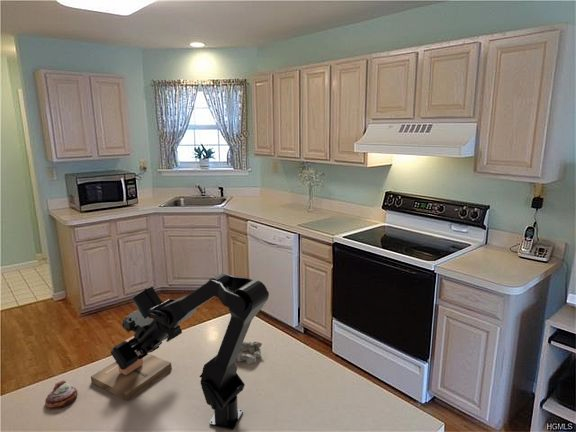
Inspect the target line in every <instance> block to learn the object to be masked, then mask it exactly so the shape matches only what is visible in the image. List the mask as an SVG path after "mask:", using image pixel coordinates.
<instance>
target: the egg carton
mask: <svg viewBox="0 0 576 432" xmlns="http://www.w3.org/2000/svg"><path fill="white" fill-rule="evenodd" d="M262 345H263V344H262V342H259V341H253V342H250V341H249V342H246V341H243V343H242V346H241V348H240V351H239V353H238V356H237V358H236V362H240V363H241V362H242V361H245V362H246V364H248V365H251V364H252V363H254V364H255V363H256V362H257V358H260V357H261V354H262V353H261V352H262V351H261V347H262ZM243 351H244V352H245V351H248V352H249V354H246V353H244V352H243ZM250 353H251V354H250Z"/></svg>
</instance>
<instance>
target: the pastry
mask: <svg viewBox="0 0 576 432" xmlns="http://www.w3.org/2000/svg"><path fill="white" fill-rule="evenodd" d="M77 397H78V389H77V388H76V387H75V386H71V385H70V384H69V383H68V382H67V381H66V380H61V381H59V382H56V383H55V384H54V387H52V390H51V391H50V393H48V394H47V396H46V398H45V404H44V405H45V406H44V407H46V409H48V408H49V410H55V409H62V408H64V407H65V406H68V405H70V404H71V403H73V402H74V401H75V400H77Z"/></svg>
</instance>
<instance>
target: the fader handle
mask: <svg viewBox="0 0 576 432" xmlns="http://www.w3.org/2000/svg"><path fill="white" fill-rule="evenodd" d="M133 338H134V336H131V337H129V338H126V339H125V340H123V341H122V342H124V341H127V342H128V341H129V340H131V339H133ZM142 364H143V358H142V359H138V360H137V361H136V362H135V363H134V364H133V365H131V366H129V367H128V368H126V369H125V370H123V369H121V368H120V367H119V365H118V368H119V372H120V373H122V374H125V375H127V374H129V373H130V372H132V371H133V370H135V369H136V368H138V367H139V366H141V365H142Z"/></svg>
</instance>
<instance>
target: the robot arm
mask: <svg viewBox="0 0 576 432" xmlns="http://www.w3.org/2000/svg"><path fill="white" fill-rule="evenodd" d="M269 295H270V293H269V291H268V288H267V287H266V285H265V284H264V283H263V282H262V281H260V280H257V279H252V278H249V277H245V276H244V277H243V276H235V275H231V274H228V273H225V272H222V273H219V274H218V275H215V276H214V277H211V278H210V279H208V281H207V282H205V283H204V284H203V285H201V286H200V287H198V288H196V289H195V290H193V291H192V292H190V293H189V294H187V295H183V296H181V297H179V298H169V299H166V300H165V301H162V299H161V298H160V297H159V295H158V293H157V292H156V290H155V289H154V287H153V286H152V285H151V286H149V287H145V289H144V290H143V291H141V292H139V293H138V294H136V295H135V296H133V297H132V299H131V301H132V302H133V304H134V305H135V307H136V308H137V310H135V311H132V312H131V313H128V315H127V316H125V317H124V319H123V320H122V323H121V327H122V329H124V330H125V331H126V332H128V333H130V332H131V331H132V332H133V333H134V334H133V336H134V338H133V339H131V340H129V341H128V342H127V341H125V340H123V341H124V342H123V341H122V342H120V343H118V344H117V345H115V346H113V348H111V349H110V355H112V357H113V359H114V360H115V362H117V364H118V365H119V367H120V368H121V369H123V370H125V369H126V368H128V367H129V366H131V365H133V364H134V363H135V362H136V361H137V360H138V359H142V358H143V357H145V356H147V355H148V354H147V353H149V354H151V353H153V352H154V351H155V350H158V349H159V348H160V345H162V344H163V341H166V342H167V343H169V342H170V341H173V340H174V339H175V338H177V337H178V336H180V335H181V334H183V330H182V329H181V325H180V324H181V323H183V322H185V321H186V320H189V318H191V317H192V316H193V314H195V313H196V311H197V309H198V308H199V307H200V306H202V305H203V304H205V303H206V302H208V301H210V300H211V299H213V298H215V297H216V298H218V299H219V301H220V302H221V304H222V305H223V306H225V307H226V308H228V311H229V314H230V320H229V321H228V324H227V327H226V330H225V333H224V335H223V338H222V341H221V343H220V347H219V349H218V351H217V354H216V355H215V356H213V357H212V358H211V359H210V360H209V361H207V362H206V363H205V364H204V365H203V368H202V372H201V374H200V375H199V378H201V379H200V386H201V390H202V392H203V395H204V400H205V401H206V404H207V405H209V406H210V407H211V409H212V410H214V414H213V415H212V418H211V419H210V420H209V423H208V424H209V425H210V426H213V427H218V428H224V429H227V430H234V429H235V428H236V426H237V424H238V422H239V420H240V418H241V416H242V414H243V412H244V410H243V409H241V408H238V407H239V406H238V395H239V394H240V393H241V392H243V390H244V389H245V386H246V385H245V382H244V381H243V380H242V378H241V377H240V376H239V374H238V373H237V371H238V367H237V364H236V362H237V359H236V358H237V356H238V353H239V351H240V348H241V346H242V343H243V342H245V337H246V335H247V333H248V331H249V328H250V326H251V323H252V321H253V319H254V318H255V317H256V316H257V314H258V313H259V312H260V311H261V310H262V308H263V307H264V306H265V304H266V302H268V299H269V297H270V296H269Z"/></svg>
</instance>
